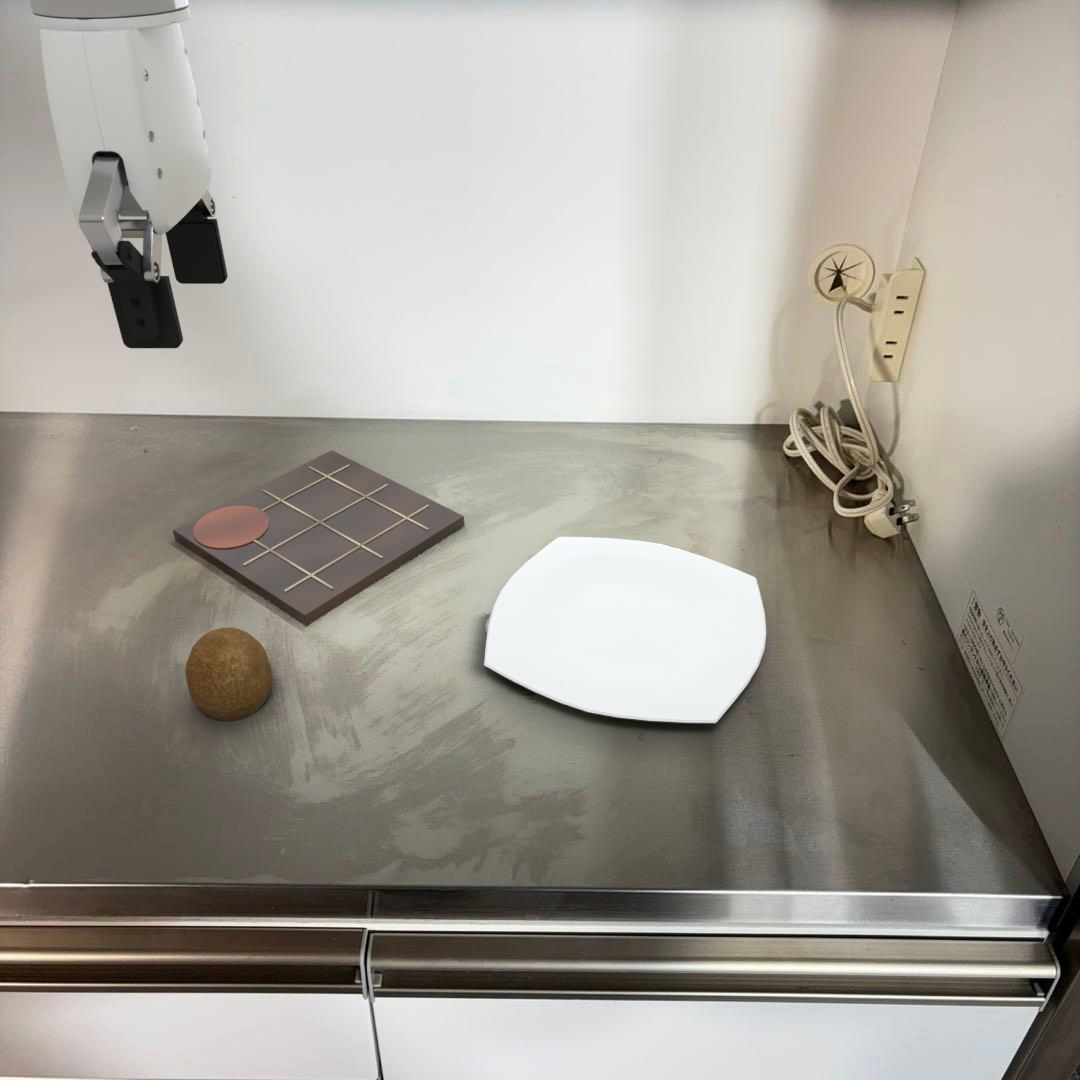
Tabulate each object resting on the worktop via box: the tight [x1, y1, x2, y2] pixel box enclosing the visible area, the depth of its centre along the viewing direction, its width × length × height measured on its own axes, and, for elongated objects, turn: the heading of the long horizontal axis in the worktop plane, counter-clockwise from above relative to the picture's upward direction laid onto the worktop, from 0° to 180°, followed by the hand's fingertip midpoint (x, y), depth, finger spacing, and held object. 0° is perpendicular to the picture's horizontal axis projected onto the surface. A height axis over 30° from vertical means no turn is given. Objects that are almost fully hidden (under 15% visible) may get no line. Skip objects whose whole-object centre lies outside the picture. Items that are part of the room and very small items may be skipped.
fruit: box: [184, 626, 273, 722], centre depth 74 cm, size 6×6×8 cm
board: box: [172, 449, 465, 627], centre depth 95 cm, size 20×20×1 cm
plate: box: [483, 536, 767, 725], centre depth 83 cm, size 23×23×2 cm
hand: (180, 312), depth 58 cm, fingers open, 9 cm apart
